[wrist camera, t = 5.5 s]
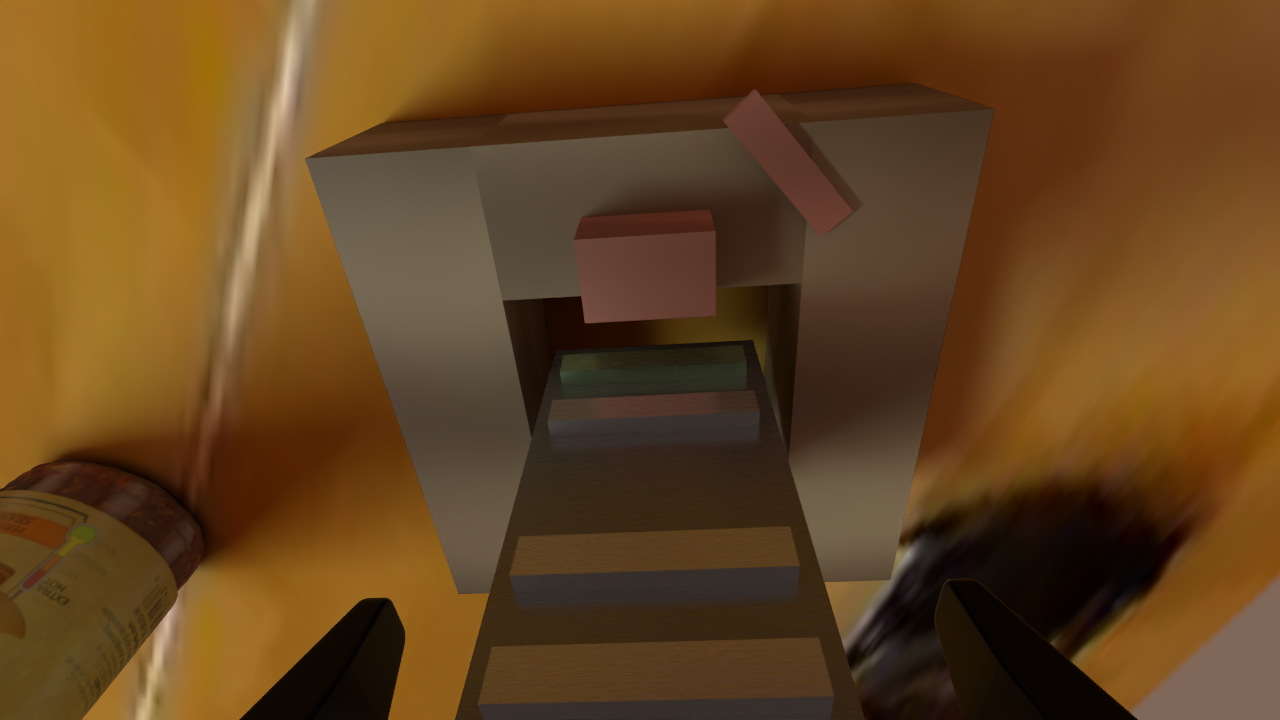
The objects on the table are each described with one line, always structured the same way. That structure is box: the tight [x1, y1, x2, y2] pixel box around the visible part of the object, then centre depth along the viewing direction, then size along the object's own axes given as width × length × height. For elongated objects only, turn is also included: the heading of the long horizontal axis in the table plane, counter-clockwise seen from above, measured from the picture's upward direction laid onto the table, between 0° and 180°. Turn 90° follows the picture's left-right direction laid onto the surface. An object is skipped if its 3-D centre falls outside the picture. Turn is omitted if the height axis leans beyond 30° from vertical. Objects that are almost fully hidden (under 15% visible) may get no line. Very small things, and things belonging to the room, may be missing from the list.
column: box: [455, 340, 865, 720], centre depth 10 cm, size 5×4×8 cm
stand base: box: [305, 84, 994, 594], centre depth 14 cm, size 13×12×5 cm
